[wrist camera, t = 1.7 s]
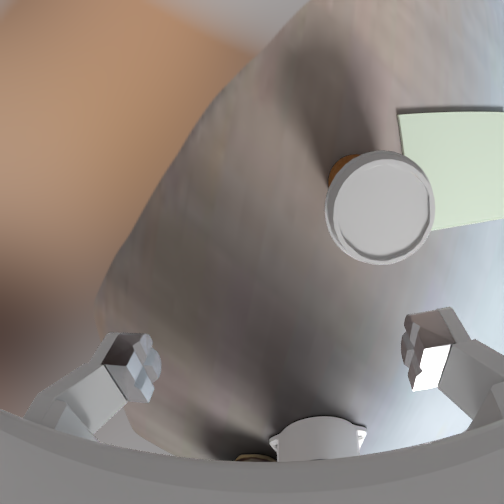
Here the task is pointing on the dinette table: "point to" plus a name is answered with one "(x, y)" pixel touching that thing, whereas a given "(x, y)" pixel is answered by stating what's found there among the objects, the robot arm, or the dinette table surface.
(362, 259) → the disposable coffee cup
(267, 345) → the dinette table surface
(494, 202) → the mat
